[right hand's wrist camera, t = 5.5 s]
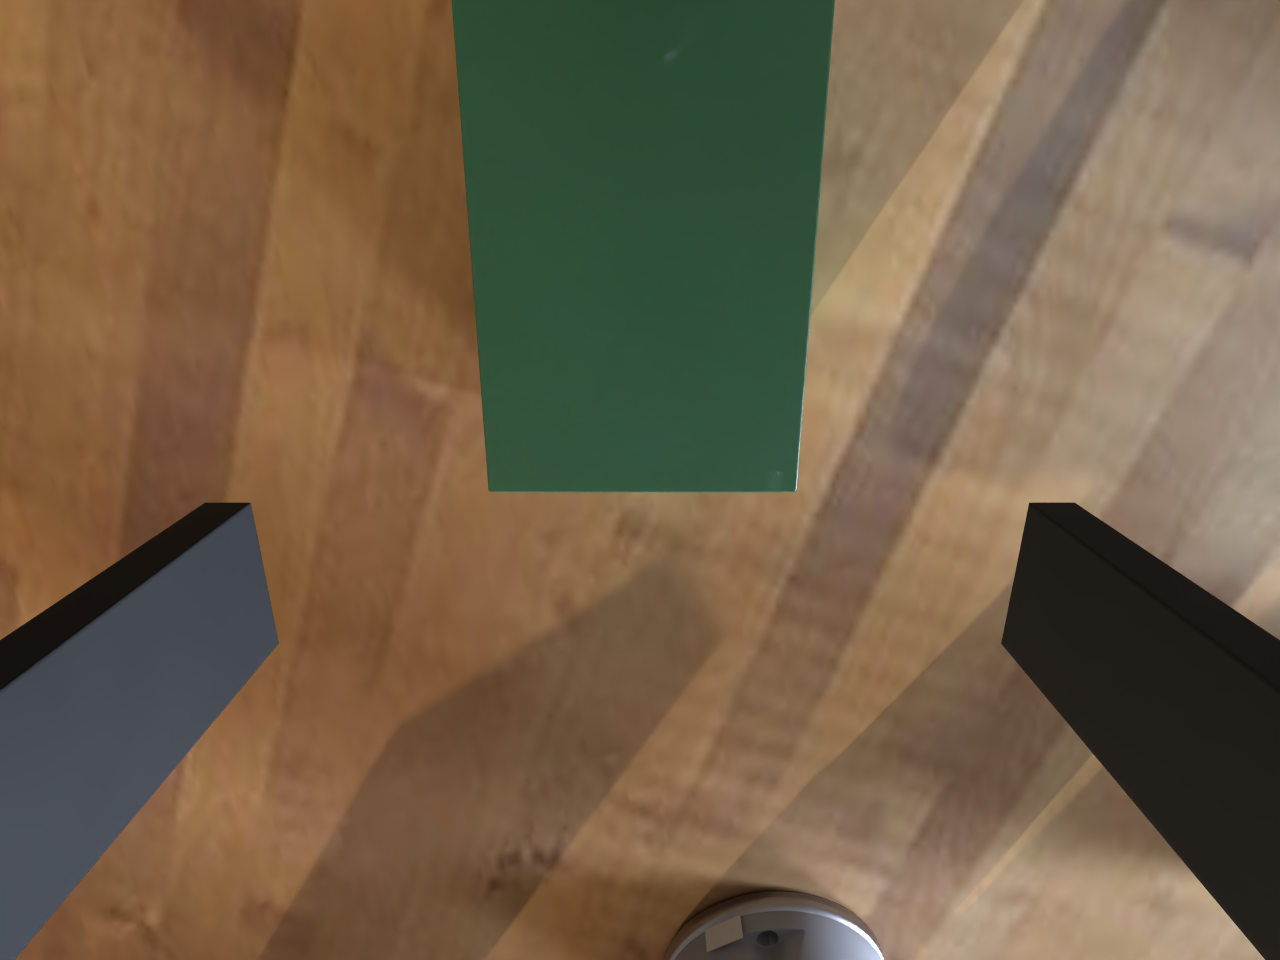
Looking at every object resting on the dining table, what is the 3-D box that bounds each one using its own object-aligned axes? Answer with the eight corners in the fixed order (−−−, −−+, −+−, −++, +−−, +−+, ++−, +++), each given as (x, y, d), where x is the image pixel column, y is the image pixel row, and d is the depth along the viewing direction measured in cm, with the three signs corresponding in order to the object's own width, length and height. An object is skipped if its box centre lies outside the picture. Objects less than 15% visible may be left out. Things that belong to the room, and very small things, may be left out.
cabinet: (514, 23, 31) (445, -82, 20) (769, 23, 31) (841, -82, 20) (533, 409, 37) (488, 493, 26) (749, 409, 37) (796, 492, 26)
